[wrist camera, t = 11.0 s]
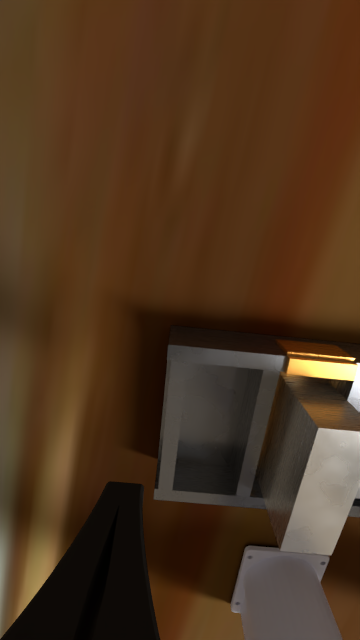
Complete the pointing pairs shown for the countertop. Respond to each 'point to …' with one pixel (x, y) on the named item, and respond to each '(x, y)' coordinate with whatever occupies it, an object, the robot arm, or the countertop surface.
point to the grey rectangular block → (309, 464)
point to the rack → (234, 408)
